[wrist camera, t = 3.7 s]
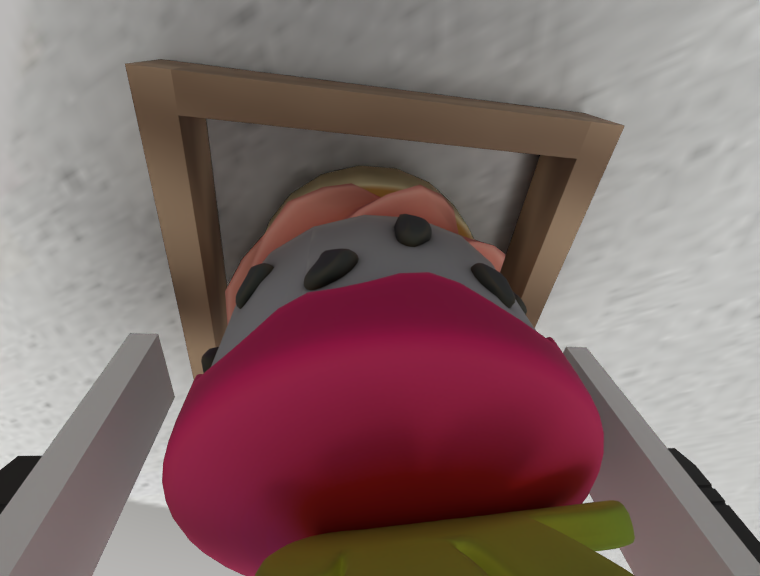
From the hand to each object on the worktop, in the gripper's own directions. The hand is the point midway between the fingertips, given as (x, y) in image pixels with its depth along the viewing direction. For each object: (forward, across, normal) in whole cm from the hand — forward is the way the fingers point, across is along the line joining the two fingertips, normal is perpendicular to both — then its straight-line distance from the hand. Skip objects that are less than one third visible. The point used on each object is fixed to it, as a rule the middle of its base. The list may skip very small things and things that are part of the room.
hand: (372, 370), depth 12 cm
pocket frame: (+6, 0, 0) cm, 6 cm away
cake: (+7, 0, 0) cm, 7 cm away
